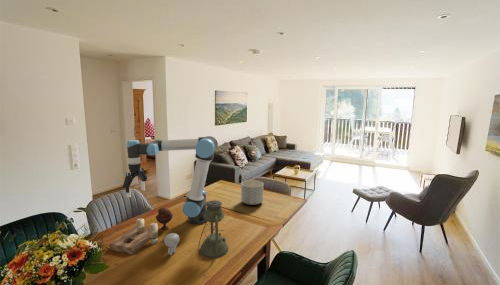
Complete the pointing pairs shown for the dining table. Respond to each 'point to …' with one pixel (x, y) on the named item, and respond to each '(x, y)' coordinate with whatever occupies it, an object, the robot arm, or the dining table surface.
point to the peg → (154, 233)
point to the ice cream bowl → (164, 217)
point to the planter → (252, 192)
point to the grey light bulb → (171, 242)
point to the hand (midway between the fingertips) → (136, 193)
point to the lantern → (214, 242)
